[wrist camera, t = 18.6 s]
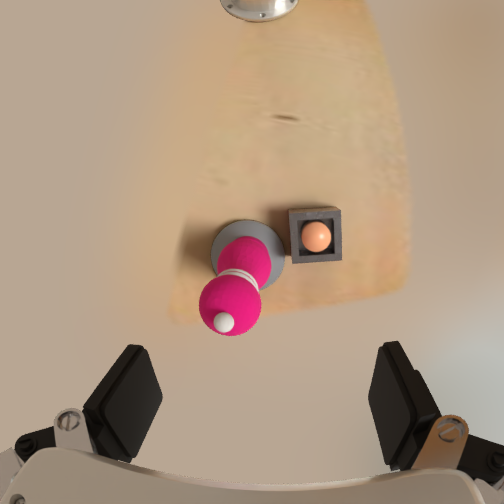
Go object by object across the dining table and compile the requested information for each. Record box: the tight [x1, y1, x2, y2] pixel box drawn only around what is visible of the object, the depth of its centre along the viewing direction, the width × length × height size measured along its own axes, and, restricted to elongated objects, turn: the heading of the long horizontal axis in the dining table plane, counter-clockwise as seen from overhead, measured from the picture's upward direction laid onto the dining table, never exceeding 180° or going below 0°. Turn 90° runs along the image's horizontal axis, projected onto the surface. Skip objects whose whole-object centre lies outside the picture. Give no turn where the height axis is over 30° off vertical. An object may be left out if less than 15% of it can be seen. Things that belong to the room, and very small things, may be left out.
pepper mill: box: [199, 236, 272, 336], centre depth 33 cm, size 7×7×20 cm
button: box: [301, 220, 331, 252], centre depth 39 cm, size 4×4×2 cm
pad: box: [211, 220, 285, 290], centre depth 43 cm, size 11×11×1 cm
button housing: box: [288, 207, 342, 264], centre depth 40 cm, size 7×7×4 cm
